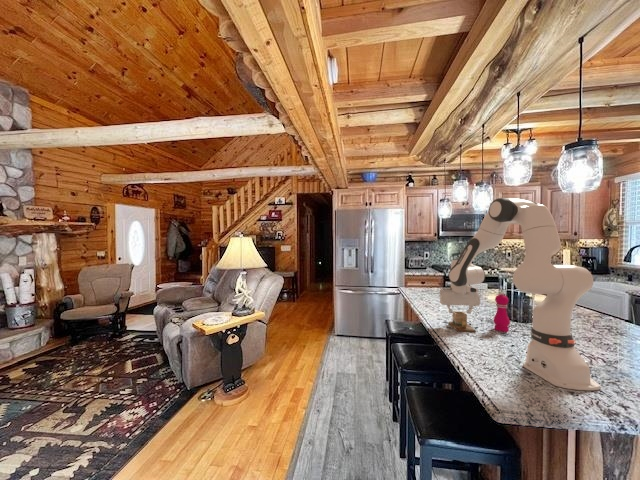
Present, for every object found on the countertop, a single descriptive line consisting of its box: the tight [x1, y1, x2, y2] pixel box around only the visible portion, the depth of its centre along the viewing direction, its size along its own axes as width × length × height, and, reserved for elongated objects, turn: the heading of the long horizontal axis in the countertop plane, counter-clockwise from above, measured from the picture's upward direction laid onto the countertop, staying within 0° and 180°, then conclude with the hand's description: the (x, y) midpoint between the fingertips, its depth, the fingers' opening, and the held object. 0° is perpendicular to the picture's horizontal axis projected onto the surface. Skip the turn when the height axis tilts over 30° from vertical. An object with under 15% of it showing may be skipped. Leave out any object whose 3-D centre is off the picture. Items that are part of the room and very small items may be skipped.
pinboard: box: [448, 320, 477, 333], centre depth 154 cm, size 14×9×5 cm, turn 172°
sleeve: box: [452, 310, 468, 326], centre depth 157 cm, size 6×6×6 cm
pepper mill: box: [493, 291, 511, 333], centre depth 150 cm, size 7×7×20 cm
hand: (459, 313), depth 157 cm, fingers open, 8 cm apart
